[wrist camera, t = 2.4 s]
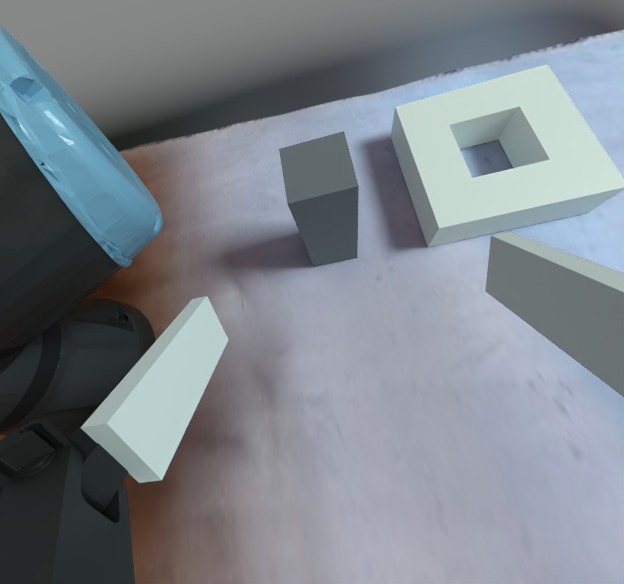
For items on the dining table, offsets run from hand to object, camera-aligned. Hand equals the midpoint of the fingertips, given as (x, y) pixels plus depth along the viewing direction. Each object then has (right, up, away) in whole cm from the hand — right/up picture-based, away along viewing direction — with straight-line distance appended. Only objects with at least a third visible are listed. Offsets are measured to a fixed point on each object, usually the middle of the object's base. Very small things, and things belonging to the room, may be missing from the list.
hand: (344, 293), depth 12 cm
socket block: (+18, +14, +17) cm, 28 cm away
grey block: (+1, +6, +18) cm, 18 cm away
